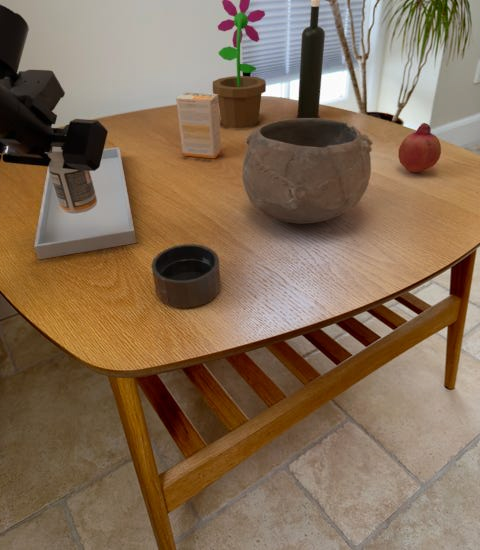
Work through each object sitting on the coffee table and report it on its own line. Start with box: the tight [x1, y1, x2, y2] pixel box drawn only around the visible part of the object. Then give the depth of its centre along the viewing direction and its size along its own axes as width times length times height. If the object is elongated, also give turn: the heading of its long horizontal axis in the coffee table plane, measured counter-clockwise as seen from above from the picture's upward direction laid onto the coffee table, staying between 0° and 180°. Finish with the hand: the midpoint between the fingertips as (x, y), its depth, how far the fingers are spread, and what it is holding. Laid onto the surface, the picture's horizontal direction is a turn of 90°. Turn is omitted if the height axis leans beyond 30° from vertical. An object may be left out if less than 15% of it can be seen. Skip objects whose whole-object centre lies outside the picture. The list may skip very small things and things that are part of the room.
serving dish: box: [33, 146, 137, 260], centre depth 84 cm, size 15×39×2 cm, turn 16°
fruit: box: [397, 122, 442, 173], centre depth 87 cm, size 8×8×10 cm
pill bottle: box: [47, 147, 97, 214], centre depth 66 cm, size 6×6×10 cm
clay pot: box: [241, 117, 373, 225], centre depth 73 cm, size 21×21×15 cm
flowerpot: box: [212, 0, 267, 129], centre depth 111 cm, size 14×14×30 cm
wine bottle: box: [297, 0, 326, 119], centre depth 113 cm, size 6×6×30 cm
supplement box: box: [175, 92, 222, 159], centre depth 97 cm, size 8×5×13 cm, turn 71°
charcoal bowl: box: [150, 243, 222, 309], centre depth 60 cm, size 9×9×4 cm
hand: (74, 165), depth 66 cm, fingers closed on pill bottle, 6 cm apart
